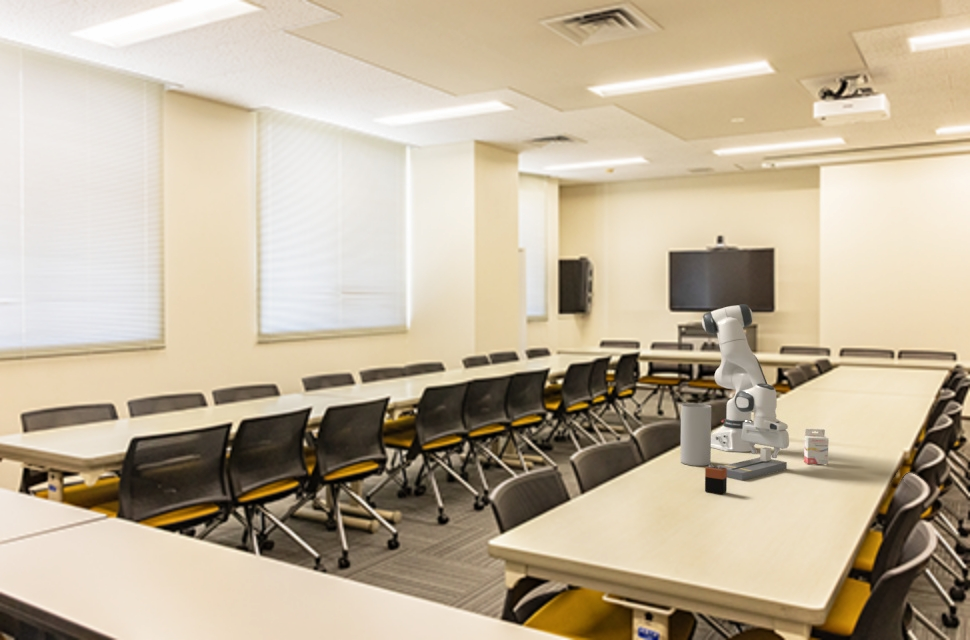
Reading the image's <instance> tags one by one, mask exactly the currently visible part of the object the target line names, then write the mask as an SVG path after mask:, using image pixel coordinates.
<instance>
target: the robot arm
mask: <svg viewBox="0 0 970 640" xmlns="http://www.w3.org/2000/svg"><path fill="white" fill-rule="evenodd" d="M753 319H754V315H753V311H752V309H751V308H750V306H749V305H748V304H739V305H730V306H726V307H725V306H724V307H722V308H717V309H714V310H711V311H708V312H704V313H703V315H702V319H701V324H702V329H704V331H705V332H706V333H707V334H708V335H714V336H717V341H718V346H719V350H720V356H721V358H720V359H721V361H720V365H719V366H718V368H717V369H716V370H715V373H714V382H715V383H716V385H717V386H720V387H722V388H725V389H729V390H735V393H734V396H733V397H732V398H730V399H729V400H727V402H726V418H724V419H721V423H723V425H722V426H721V427H718V428H717V429H716V430H715V431H714V432H711V449H715V450H720V451H724V452H736V453H737V452H739V453H741V452H742V453H745V452H751V454H752V455H757V454H758V449H756V447H755V445H758V446H764V447H765V446H766V447H769V448H771V447H772V448H773V451H774V452H771V459H777V458H778V453H779V452H780V450H781V449H782V450H785V449H787V448H788V447H789V445H790V437H789V436H790V435H789V431H788V429H789V428H788V427H789V425H788V424H787V423H785V422H782V421H781V420H779V419H778V418H777V414H776V408H777V407H778V406H777V402H778V401H777V400H778V398H777V391H776V388H775V387H774V386H773V385H772V384H768V382H767V379H766V376H765V374H764V370H763V369H762V367H761V364H760V362H759V359H758V357H757V356H756V355H755V354H754V353H753V351H752V349H751V348H750V345H749V342H748V339H747V336H746V332H745V330H744V328H745V329H746V328H747V327H750V326H751V324H752V323H753ZM752 413H753V420H752Z"/></svg>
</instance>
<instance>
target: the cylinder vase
mask: <svg viewBox="0 0 970 640" xmlns="http://www.w3.org/2000/svg"><path fill="white" fill-rule="evenodd" d="M680 405H681V406H680V463H682V464H684V465H687V466H691V467H692V466H693V467H694V466H695V467H704V466H705V467H707V466H709V465H711V463H712V462H711V461H712V460H711V458H712V457H711V455H712V453H711V449H712V447H711V435H712V405H710V404H706V403H689V402H688V403H682V404H680Z"/></svg>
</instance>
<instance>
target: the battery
mask: <svg viewBox="0 0 970 640" xmlns="http://www.w3.org/2000/svg"><path fill="white" fill-rule="evenodd" d="M723 466H724V465H721V464H720V465H717V466H714V465H713V464H709V465H707V466H705V467H704V468H705V469H704V471H705V472H704V480H705V481H704V492H706V493H709V494H716V495H724V494H726V493H727V486H728V485H727V483H728V481H727V479H728V477H727V469H726V468H723Z"/></svg>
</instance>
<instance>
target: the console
mask: <svg viewBox="0 0 970 640" xmlns="http://www.w3.org/2000/svg"><path fill="white" fill-rule="evenodd" d="M722 466H723V468H726V469H727V479H733V480H738V481H741V482H742V481H746V480H750V479H754V478H758V476H759V477H762V476H766V475H770V474H774V473H778V472H781V470H782V471H785V470H784V469H786V470H787V468H788V467H787V466H788V463H787V462H786V461H782V460H777V459H774V458H771V460H770V461H768V462H765V463H763V461H761V460H760V457H756V458H755V457H754V458H751V459H747V460H742V461H739V462H733V463H729V464H724V465H722ZM777 471H778V472H777ZM773 472H774V473H773ZM769 473H770V474H769Z"/></svg>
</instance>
